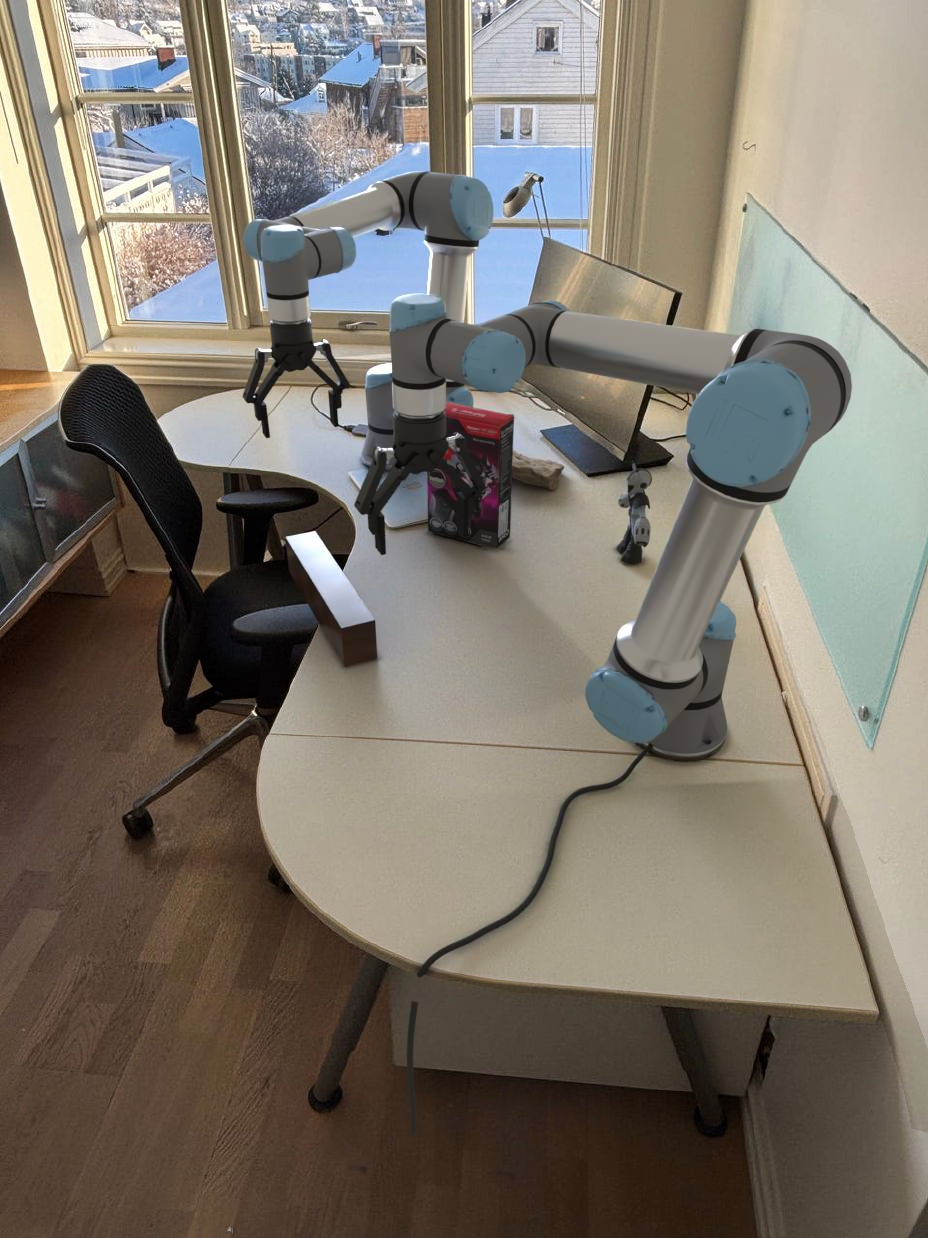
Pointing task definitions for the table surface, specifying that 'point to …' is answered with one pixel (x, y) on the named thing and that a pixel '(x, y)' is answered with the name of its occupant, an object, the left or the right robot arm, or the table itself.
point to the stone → (535, 470)
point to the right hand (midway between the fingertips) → (422, 542)
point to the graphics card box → (494, 464)
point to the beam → (332, 599)
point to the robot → (635, 516)
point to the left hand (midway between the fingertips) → (300, 430)
